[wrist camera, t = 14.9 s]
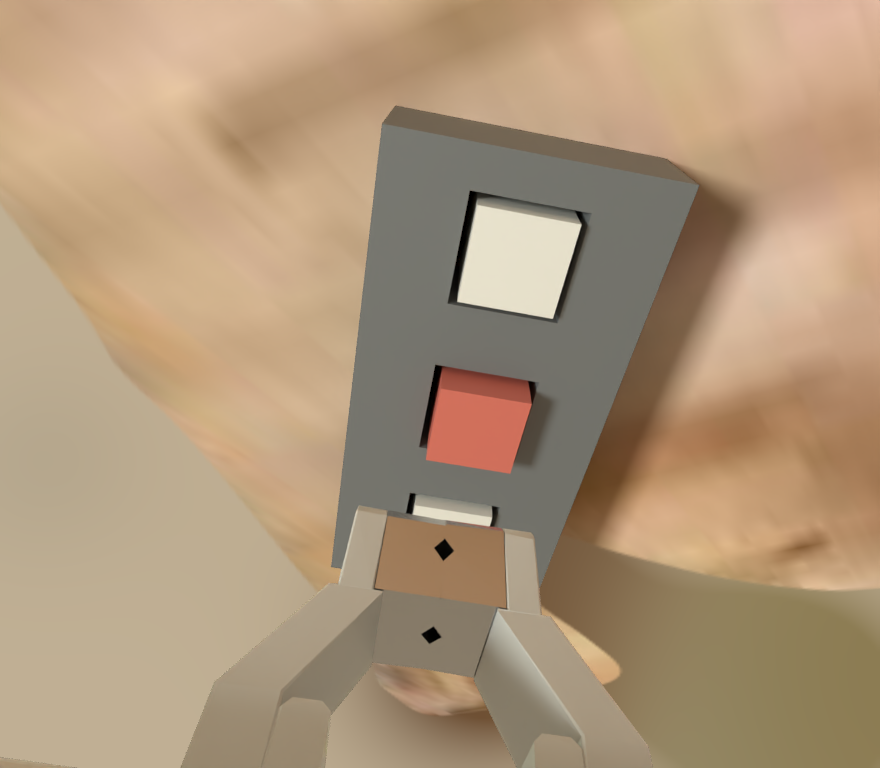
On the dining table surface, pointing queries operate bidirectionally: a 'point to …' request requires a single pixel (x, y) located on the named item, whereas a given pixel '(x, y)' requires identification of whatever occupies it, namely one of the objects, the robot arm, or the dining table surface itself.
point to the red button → (477, 419)
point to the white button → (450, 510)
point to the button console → (498, 314)
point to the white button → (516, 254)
